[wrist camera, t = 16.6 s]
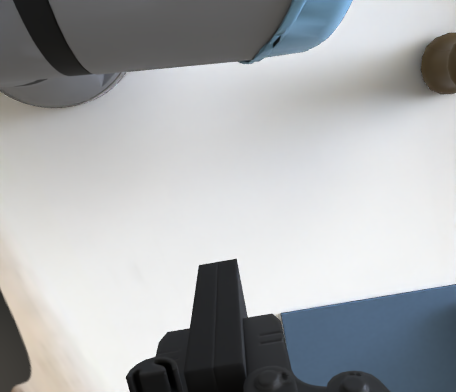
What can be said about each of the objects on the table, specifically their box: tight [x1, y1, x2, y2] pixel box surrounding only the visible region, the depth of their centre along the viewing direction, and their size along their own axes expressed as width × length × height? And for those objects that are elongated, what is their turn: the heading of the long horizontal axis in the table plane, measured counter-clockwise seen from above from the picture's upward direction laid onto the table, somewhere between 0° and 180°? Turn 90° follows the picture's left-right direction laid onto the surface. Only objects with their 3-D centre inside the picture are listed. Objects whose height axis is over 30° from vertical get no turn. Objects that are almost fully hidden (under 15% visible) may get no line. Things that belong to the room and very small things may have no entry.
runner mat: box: [281, 284, 456, 392], centre depth 46 cm, size 34×16×1 cm, turn 100°
